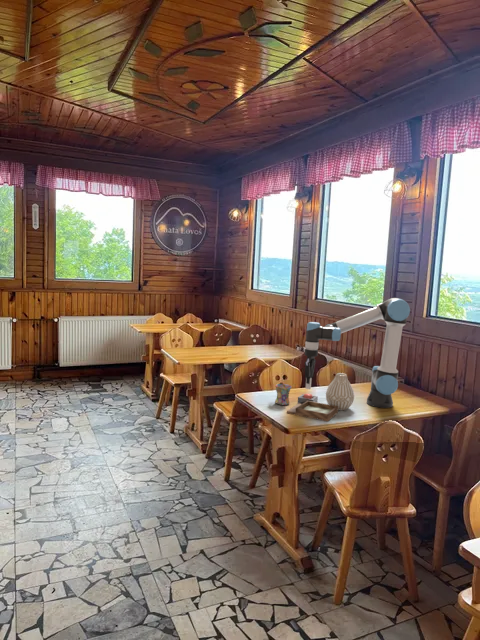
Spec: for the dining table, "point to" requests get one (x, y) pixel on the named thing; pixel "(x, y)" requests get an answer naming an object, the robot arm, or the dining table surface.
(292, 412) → the wooden tray
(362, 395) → the dining table surface
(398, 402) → the dining table surface
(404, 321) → the robot arm
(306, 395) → the button
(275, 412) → the dining table surface
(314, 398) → the button box
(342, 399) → the vase
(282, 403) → the mug
